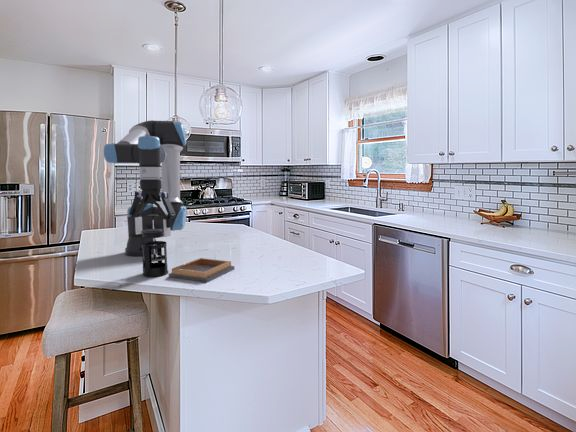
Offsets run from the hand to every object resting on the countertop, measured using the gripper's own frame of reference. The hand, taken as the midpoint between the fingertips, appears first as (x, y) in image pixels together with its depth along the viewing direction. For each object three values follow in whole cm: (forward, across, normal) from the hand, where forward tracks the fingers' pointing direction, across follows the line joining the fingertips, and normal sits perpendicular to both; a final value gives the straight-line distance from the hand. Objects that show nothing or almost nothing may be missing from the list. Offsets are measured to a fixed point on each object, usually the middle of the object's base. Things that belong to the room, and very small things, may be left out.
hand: (153, 235), depth 135 cm
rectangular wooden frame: (+15, +16, +9) cm, 24 cm away
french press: (+15, 0, 0) cm, 15 cm away
